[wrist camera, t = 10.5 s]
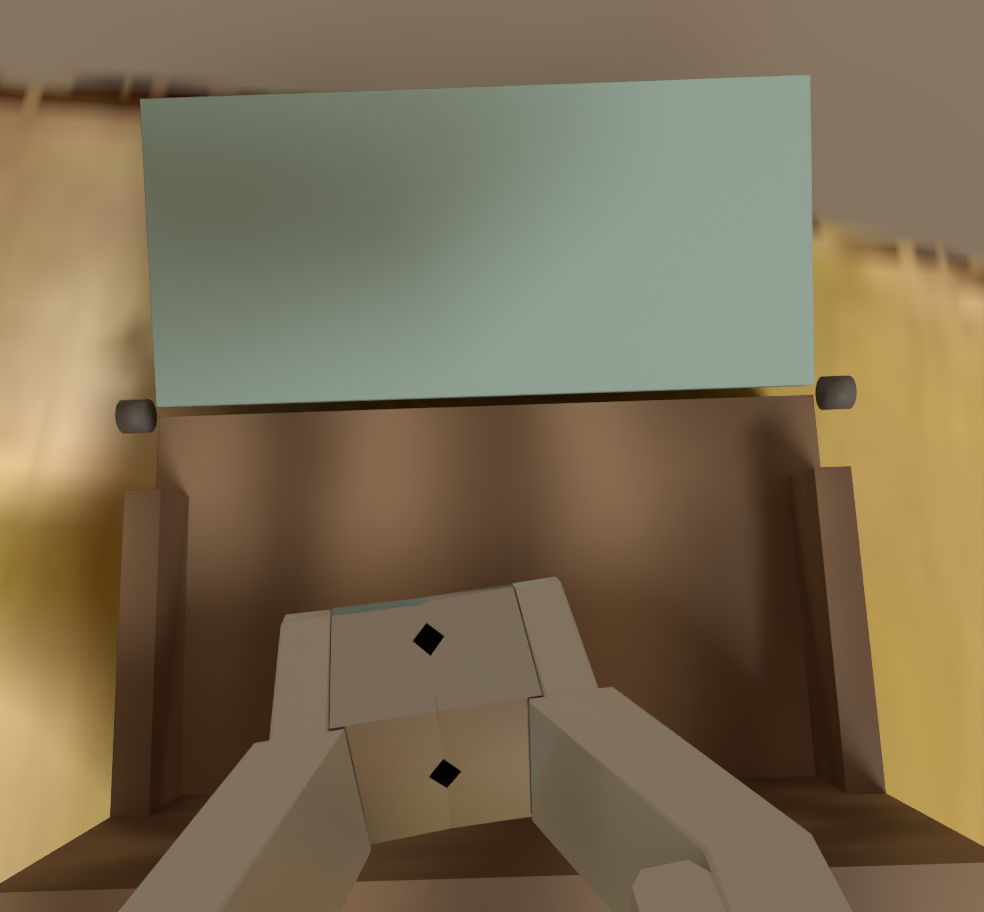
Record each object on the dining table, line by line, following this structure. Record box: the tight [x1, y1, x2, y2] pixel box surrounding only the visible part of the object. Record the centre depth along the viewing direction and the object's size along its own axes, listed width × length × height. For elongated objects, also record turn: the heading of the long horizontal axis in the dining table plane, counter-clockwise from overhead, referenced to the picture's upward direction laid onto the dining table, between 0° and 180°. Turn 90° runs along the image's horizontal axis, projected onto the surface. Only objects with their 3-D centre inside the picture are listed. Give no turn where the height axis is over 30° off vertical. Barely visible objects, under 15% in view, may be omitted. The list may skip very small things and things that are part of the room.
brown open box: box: [0, 376, 984, 912], centre depth 21 cm, size 22×14×10 cm, turn 92°
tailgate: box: [140, 75, 814, 407], centre depth 24 cm, size 20×2×9 cm
